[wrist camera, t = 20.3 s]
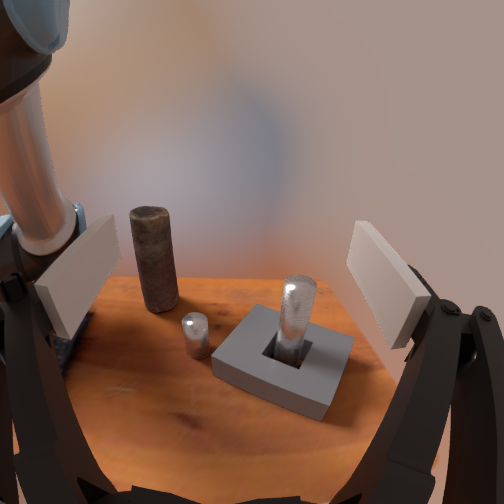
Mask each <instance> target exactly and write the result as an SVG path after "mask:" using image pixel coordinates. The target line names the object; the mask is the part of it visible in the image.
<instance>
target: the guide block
mask: <svg viewBox="0 0 504 504" xmlns="http://www.w3.org/2000/svg"><path fill="white" fill-rule="evenodd" d="M279 319H280V312H279V311H276V310H273V309H271V308H268V307H265V306H263V305H260V304H256V305H255V306H254V307H253V308H252V309H251V311H250V312H249V313H248V314H247V315H246V316H245V318H244V319H243V320H242V321H241V322H240V323H239V324H238V326H237V327H236V328H235V329H234V330H233V331H232V332H231V334H230V335H229V336H228V337H227V338H226V339H225V340H224V341H223V343H222V344H221V345H220V346H219V347H218V348H217V349H216V350H215V352H214V353H213V354H212V355H211V361H212V371H213V375H214V376H216V377H218V378H220V379H222V380H224V381H226V382H228V383H230V384H232V385H234V386H236V387H238V388H240V389H242V390H244V391H247V392H249V393H251V394H253V395H255V396H257V397H260V398H262V399H264V400H266V401H269V402H271V403H273V404H276V405H278V406H281V407H283V408H286V409H288V410H291V411H293V412H296V413H298V414H301V415H303V416H306V417H309V418H312V419H314V420H317V421H320V422H321V420H322V419H323V417H324V415H325V414H326V412H327V410H328V408H329V406H330V404H331V402H332V399H333V397H334V394H335V392H336V389H337V387H338V384H339V382H340V379H341V376H342V374H343V371H344V368H345V365H346V362H347V360H348V357H349V354H350V351H351V348H352V345H353V342H354V339H355V337H352V336H349V335H345V334H342V333H339V332H336V331H333V330H330V329H327V328H324V327H321V326H318V325H316V324H313V323H310V322H309V323H308V328H307V332H306V336H305V340H304V344H303V348H302V351H301V355H300V359H301V360H304V362H303V363H302V365H301V367H300V369H296V368H294V367H291V366H289V365H286V364H284V363H281V362H279V361H276V360H274V359H271V358H270V357H271V355H272V354H273V352H274V351H275V345H276V339H277V332H278V325H279Z"/></svg>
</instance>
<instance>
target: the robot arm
mask: <svg viewBox="0 0 504 504" xmlns="http://www.w3.org/2000/svg"><path fill="white" fill-rule="evenodd" d="M69 5H70V0H0V195H1V197H2V199H3V201H4V203H5V204H6V206H7V207H8V210H9V211H10V213H11V215H12V216H13V218H14V220H15V221H16V222H13V218H12V217H11V215H9V214H7V215H3V216H1V217H0V504H19V495H18V488H17V480H16V474H17V477H18V481H19V483H20V486H21V489H22V492H23V494H24V497H25V499H26V502H27V504H200V503H197V502H194V501H191V500H188V499H185V498H183V497H180V496H177V495H174V494H172V493H167V492H161V491H156V490H151V489H146V488H141V487H137V486H133V485H132V489H131V491H123V492H118V491H117V490H116V488H115V487H114V486H113V484H112V483H111V482H110V480H109V479H108V478H107V477H106V476H105V475H104V474H103V472H102V471H101V469H100V468H99V466H98V464H97V462H96V460H95V458H94V456H93V454H92V452H91V450H90V448H89V446H88V444H87V441H86V439H85V437H84V435H83V432H82V430H81V428H80V425H79V423H78V420H77V418H76V415H75V413H74V410H73V407H72V405H71V402H70V399H69V396H68V393H67V390H66V387H65V384H64V381H63V377H62V374H61V371H60V367H59V363H58V360H57V356H56V352H55V348H54V343H53V339H52V337H51V335H50V333H49V332H50V331H51V329H52V328H54V330H55V332H56V334H57V336H58V337H60V338H65V339H70V340H71V339H72V338H73V336H74V334H75V332H76V330H77V329H78V327H79V325H80V323H81V322H82V320H83V318H84V316H85V315H86V313H87V311H88V310H89V308H90V306H91V305H92V303H93V301H94V300H95V298H96V297H97V295H98V293H99V292H100V290H101V289H102V287H103V285H104V284H105V282H106V281H107V279H108V278H109V276H110V275H111V273H112V272H113V270H114V269H115V267H116V266H117V264H118V263H119V261H120V260H121V253H120V248H119V243H118V238H117V233H116V227H115V222H114V215H101V216H100V217H99V218H98V219H97V220H96V221H95V222H94V223H92V224H91V225H90V226H89V227H88V228H86V222H85V215H84V209H83V206H82V205H81V204H72V202H71V201H70V200H69V199H68V198H67V197H66V196H64V195H62V194H61V193H60V190H59V186H58V182H57V179H56V175H55V171H54V167H53V163H52V159H51V155H50V150H49V146H48V141H47V136H46V131H45V125H44V119H43V112H42V105H41V97H40V89H39V80H40V79H41V78H42V77H43V76H44V74H45V73H46V72H47V71H48V69H49V67H50V65H51V62H52V53H54V52H55V51H56V50H59V49H60V48H61V47H63V45H64V43H65V41H66V37H67V31H68V17H69V15H68V13H69V12H68V11H69ZM347 266H348V268H349V270H350V271H351V273H352V275H353V277H354V279H355V281H356V282H357V284H358V286H359V288H360V290H361V292H362V293H363V295H364V297H365V299H366V301H367V303H368V305H369V307H370V309H371V311H372V312H373V315H374V316H375V318H376V320H377V322H378V324H379V326H380V329H381V330H382V333H383V335H384V337H385V339H386V341H387V343H388V345H389V347H390V349H398V348H405V347H406V345H407V343H408V342H409V340H410V338H412V339H413V341H414V343H415V344H414V346H413V347H412V349H411V351H410V353H409V354H408V356H407V357H406V359H405V360H404V361H405V362H407V363H406V366H405V368H404V371H403V374H402V376H401V379H400V382H399V384H398V387H397V389H396V391H395V394H394V396H393V398H392V401H391V403H390V405H389V408H388V410H387V412H386V414H385V416H384V418H383V420H382V422H381V424H380V426H379V428H378V430H377V432H376V434H375V436H374V438H373V440H372V442H371V444H370V446H369V447H368V449H367V451H366V453H365V455H364V456H363V458H362V460H361V461H360V463H359V465H358V466H357V468H356V470H355V471H354V473H353V474H352V476H351V478H350V479H349V481H348V482H347V483H346V484H345V486H344V487H343V488H342V489H341V490H340V491H339V492H338V493H337V494H336V495H335V496H334V498H333V499H332V500H331V502H330V503H329V504H427V503H428V501H429V498H430V497H431V494H432V492H433V489H434V486H435V477H434V476H432V475H431V468H432V465H433V462H434V460H435V457H436V454H437V451H438V448H439V445H440V442H441V438H442V435H443V431H444V428H445V424H446V421H447V417H448V412H449V408H450V404H451V431H450V449H449V460H448V470H447V477H446V484H445V490H444V496H443V502H442V504H504V340H503V336H502V333H501V330H500V327H499V325H498V322H497V319H496V317H495V315H494V314H493V313H492V311H491V310H490V309H488V308H487V307H483V306H477V307H476V308H475V309H474V311H473V313H472V315H469V314H463V313H462V312H461V310H460V308H459V307H458V306H457V305H456V304H454V303H453V302H451V301H449V300H445V299H439V297H438V296H437V295H436V293H435V292H434V291H433V290H432V288H431V287H430V286H429V285H428V284H427V282H426V281H425V280H424V278H422V276H421V275H420V274H419V273H418V271H417V270H416V269H414V268H413V267H411V266H410V265H407V264H406V263H405V262H404V261H403V259H402V258H401V257H400V256H399V255H398V254H397V253H396V252H395V250H394V249H393V248H392V247H391V246H390V245H389V243H388V242H387V241H386V240H385V239H384V238H383V237H382V236H381V234H380V233H379V232H378V231H377V230H376V229H375V228H374V227H373V226H372V225H371V224H370V222H369V221H358V220H357V221H356V223H355V228H354V233H353V237H352V242H351V246H350V251H349V255H348V259H347ZM34 280H35V281H34ZM32 281H34V282H32ZM475 355H476V359H475V358H474V357H475ZM12 418H13V423H14V428H15V432H16V437H17V441H18V445H19V450H20V451H19V453H18V454H16V455H14V452H13V430H12ZM15 471H16V473H15ZM236 504H316V503H311V502H306V501H301V500H300V496H293V497H282V498H265V499H255V500H251V501H246V502H242V503H236Z"/></svg>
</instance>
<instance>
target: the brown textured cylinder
mask: <svg viewBox="0 0 504 504" xmlns="http://www.w3.org/2000/svg"><path fill="white" fill-rule="evenodd" d="M129 215H130V222H131V231H132V237H133V244H134V249H135V255H136V261H137V266H138V272H139V278H140V283H141V289H142V293H143V297H144V302H145V306H146V308H147V309H148V310H150V311H152V312H155V313H156V312H161V311H167V310H170V309H171V308H173V307H174V306H175V305H176V303H177V301H178V299H179V293H178V286H177V278H176V272H175V265H174V257H173V249H172V248H173V247H172V240H171V228H170V218H169V213H168V211H167V209H165V208H163V207H149V206H143V207H138V208H135V209H133V210H131V212H130V214H129Z"/></svg>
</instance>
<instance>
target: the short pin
mask: <svg viewBox="0 0 504 504" xmlns="http://www.w3.org/2000/svg"><path fill="white" fill-rule="evenodd" d="M182 327H183V333H184V338H185V344H186V349H187V353H188V355H189V356H190V357H191V358H194V359H203V358H205V357H207V356H208V355H209V353H210V342H209V331H208V320H207V317H206V316H205V315H204V314H202V313H198V312H193V313H189V314H187V315H185V316H184V317H183V319H182Z"/></svg>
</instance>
